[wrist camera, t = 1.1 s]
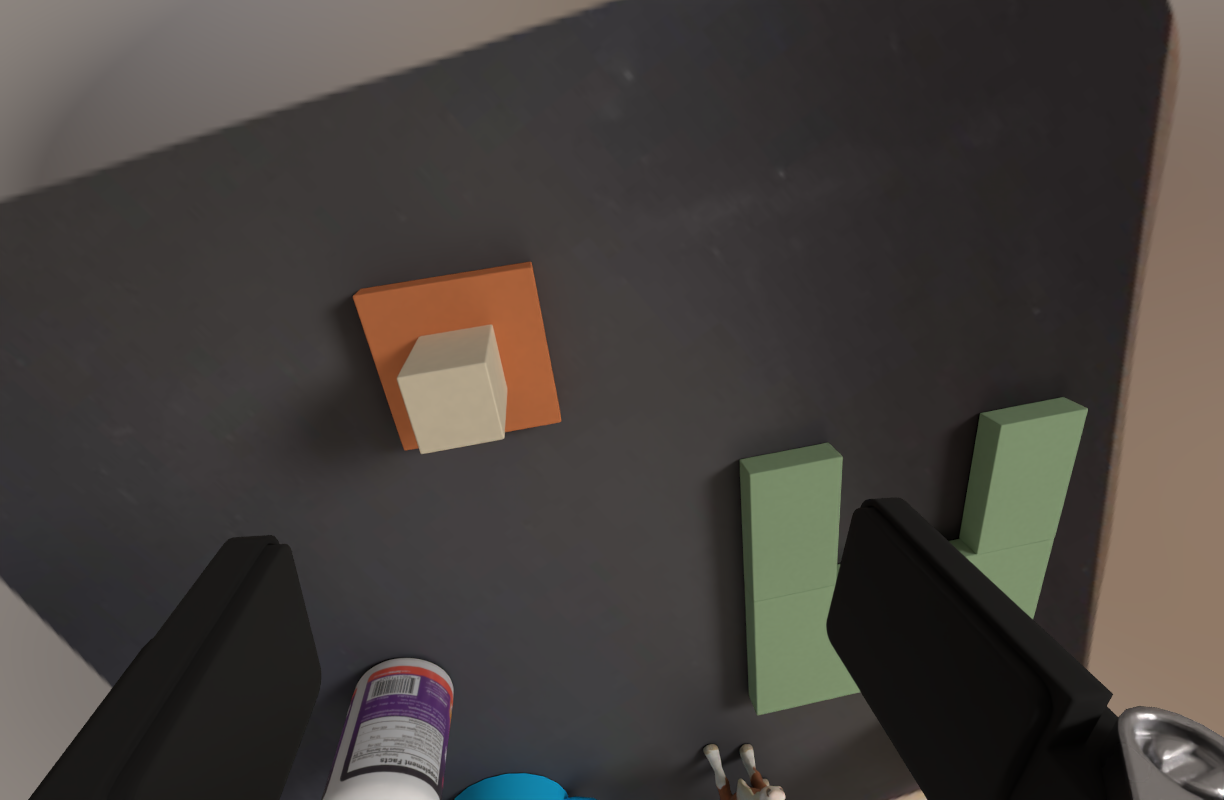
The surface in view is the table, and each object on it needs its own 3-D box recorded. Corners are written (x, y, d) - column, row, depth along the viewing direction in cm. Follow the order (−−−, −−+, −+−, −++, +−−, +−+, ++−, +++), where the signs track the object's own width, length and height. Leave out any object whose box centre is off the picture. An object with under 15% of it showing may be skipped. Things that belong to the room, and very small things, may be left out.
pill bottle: (416, 733, 34) (378, 940, 25) (335, 697, 32) (264, 910, 23) (475, 680, 33) (457, 877, 24) (395, 639, 31) (344, 839, 22)
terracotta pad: (531, 260, 23) (533, 294, 18) (560, 411, 26) (568, 475, 21) (359, 288, 23) (312, 330, 18) (408, 438, 26) (380, 511, 21)
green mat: (1063, 396, 30) (1088, 408, 29) (1006, 636, 38) (1024, 655, 37) (739, 459, 29) (749, 474, 28) (748, 695, 37) (757, 716, 35)
